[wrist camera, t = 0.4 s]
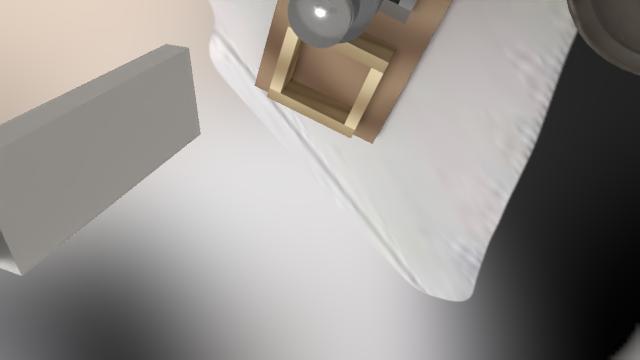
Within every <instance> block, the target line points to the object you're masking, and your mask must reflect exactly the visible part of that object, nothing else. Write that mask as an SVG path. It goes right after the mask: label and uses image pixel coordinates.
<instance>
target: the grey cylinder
mask: <svg viewBox="0 0 640 360" xmlns="http://www.w3.org/2000/svg"><path fill="white" fill-rule="evenodd" d="M383 1H384V0H290V1H289V4H288V20H289V23H290V26H291V28H292V30H293V32H294V33H295V34H296V35H297V37H298V38H299V39H300V40H302V41H303V42H304V43H306V44H308V45H310V46H313V47H317V48H328V47H331V46H334V45H336V44H340V43H346V42H349V41H352V40H354V39H356V38H357V37H359V36H360V35H361V34H362V33H363V32H364V31H365V30H366V28H367V27H368V25H369V24H370V22H371V21H372V19H373V17H374V16H375V14H376V13H377V11H378V9H379V8H380V6H381V5H382V3H383Z"/></svg>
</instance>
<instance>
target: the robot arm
mask: <svg viewBox="0 0 640 360" xmlns="http://www.w3.org/2000/svg"><path fill="white" fill-rule="evenodd" d="M199 135H200V127H199V119H198V112H197V104H196V97H195V90H194V83H193V75H192V68H191V60H190V53H189V48H186V47H180V46H174V45H168V44H166V45H164V46H161V47H159V48H157V49H155V50H153V51H151V52H149V53H147V54H145V55H143V56H141V57H139V58H137V59H135V60H133V61H130V62H129V63H126V64H124V65H122V66H120V67H118V68H116V69H114V70H112V71H110V72H108V73H106V74H104V75H102V76H100V77H98V78H96V79H93V80H92V81H90V82H87V83H86V84H83V85H81V86H79V87H77V88H75V89H73V90H71V91H69V92H67V93H65V94H63V95H61V96H59V97H57V98H55V99H52V100H50V101H49V102H46V103H44V104H42V105H40V106H38V107H36V108H34V109H32V110H30V111H28V112H26V113H24V114H22V115H20V116H18V117H16V118H13V119H12V120H9V121H8V122H5V123H3V124H1V125H0V268H2V269H5V270H8V271H10V272H13V273H15V274H18V275H21V276H22V275H23V274H25V273H26V272H27V271H29V270H30V269H31V268H32V267H33V266H35V265H36V264H37V263H39V262H40V261H41V260H42V259H44V258H45V257H46V256H47V255H49V254H50V253H51V252H52V251H53V250H55V249H56V248H57V247H59V246H60V245H61V244H63V243H64V242H65V241H66V240H68V239H69V238H70V237H71V236H73V235H74V234H75V233H76V232H78V231H79V230H80V229H81V228H83V227H84V226H85V225H87V224H88V223H89V222H90V221H92V220H93V219H94V218H95V217H97V216H98V215H99V214H100V213H102V212H103V211H104V210H105V209H107V208H108V207H109V206H110V205H112V204H113V203H114V202H115V201H117V200H118V199H119V198H121V197H122V196H123V195H124V194H126V193H127V192H128V191H129V190H131V189H132V188H133V187H134V186H136V185H137V184H138V183H139V182H141V181H142V180H143V179H144V178H146V177H147V176H148V175H149V174H151V173H152V172H153V171H154V170H156V169H157V168H158V167H159V166H161V165H162V164H163V163H165V162H166V161H167V160H168V159H170V158H171V157H172V156H173V155H175V154H176V153H177V152H179V151H180V150H181V149H182V148H184V147H185V146H186V145H187V144H189V143H190V142H191V141H192V140H194V139H195V138H196V137H197V136H199Z"/></svg>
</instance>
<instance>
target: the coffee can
mask: <svg viewBox="0 0 640 360" xmlns="http://www.w3.org/2000/svg"><path fill="white" fill-rule="evenodd" d="M567 4H568V8H569V12H570V14H571V16H572V19H573V21H574V23H575V26H576V28H577V29H578V31H579V33H580V34H581V36H582V37H583V39H584V40H585V41H586V42H587V44H588V45H589V46H590V47H591V48H592V49H593V50H594V51H595V52H597V53H598V54H599V55H600V56H601V57H603V58H604V59H606V60H607V61H609V62H610V63H612V64H614V65H616V66H618V67H619V68H621V69H623V70H626V71H629V72H632V73H634V74H637V75H640V0H567Z"/></svg>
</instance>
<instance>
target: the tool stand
mask: <svg viewBox="0 0 640 360" xmlns="http://www.w3.org/2000/svg"><path fill="white" fill-rule="evenodd" d="M289 1H290V0H278V1H277V5H276V9H275V12H274V16H273V20H272V23H271V27H270V31H269V34H268V38H267V42H266V46H265V49H264V53H263V57H262V60H261V64H260V68H259V72H258V75H257V79H256V83H255V86H257V87H259V88H261V89H263V90H265V91H267V92H268V95H267V97H268V98H270V99H272V100H274V101H276V102H278V103H280V104H282V105H284V106H286V107H289V108H291V109H293V110H295V111H297V112H299V113H301V114H303V115H305V116H307V117H309V118H311V119H313V120H315V121H317V122H319V123H321V124H323V125H325V126H327V127H329V128H331V129H333V130H335V131H337V132H339V133H341V134H343V135H345V136H347V137H349V138H351V137H352V135H353V134H354V135H356V136H358V137H360V138H362V139H364V140H366V141H368V142H370V143H373V142H374V140H375V138H376V136H377V134H378V133H379V131H380V129H381V127H382V125H383V124H384V122H385V120H386V118H387V116H388V115H389V113H390V111H391V109H392V107H393V106H394V104H395V102H396V100H397V98H398V97H399V95H400V93H401V91H402V89H403V88H404V86H405V84H406V82H407V80H408V79H409V77H410V75H411V73H412V71H413V70H414V68H415V66H416V64H417V62H418V61H419V59H420V57H421V55H422V53H423V52H424V50H425V48H426V46H427V45H428V43H429V41H430V39H431V37H432V36H433V34H434V32H435V30H436V28H437V27H438V25H439V23H440V21H441V19H442V18H443V16H444V14H445V12H446V10H447V9H448V7H449V5H450V3H451V1H452V0H384V1H383V3H382V5H381V6H380V8H379V9H378V11H377V13H376V14H375V16H374V17H373V19H372V21H371V22H370V24H369V25H368V27H367V28H366V30H365V31H364V32H363V33H362V34H361V35H360V36H359V37H357V38H356V39H354V40H352V41H349V42H346V43H340V44H336V45H334V46H331V47H328V48H317V47H313V46H310V45H308V44H306V43H304V42H303V41H302V40H300V39H299V38H298V37H297V35H296V34H295V33H294V32H293V30H292V28H291V26H290V23H289V20H288V4H289Z"/></svg>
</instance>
